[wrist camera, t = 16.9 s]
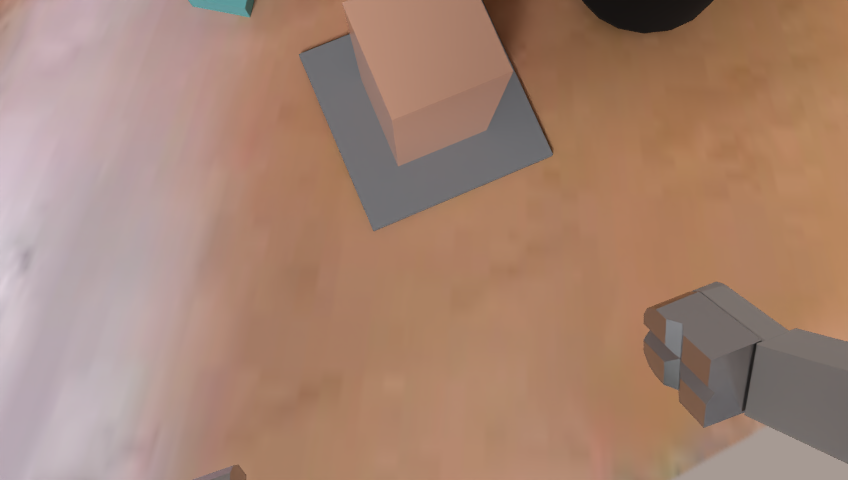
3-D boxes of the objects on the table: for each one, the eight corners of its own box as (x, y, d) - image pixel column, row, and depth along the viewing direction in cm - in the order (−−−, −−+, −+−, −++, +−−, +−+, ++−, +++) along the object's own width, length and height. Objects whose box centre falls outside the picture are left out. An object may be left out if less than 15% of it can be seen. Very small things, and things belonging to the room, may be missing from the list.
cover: (398, 166, 34) (392, 120, 25) (361, 80, 35) (342, 3, 26) (486, 130, 35) (513, 71, 25) (448, 45, 35) (461, -44, 26)
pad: (373, 231, 34) (373, 230, 34) (299, 57, 35) (298, 54, 35) (551, 156, 35) (553, 154, 35) (474, -13, 36) (474, -16, 36)
